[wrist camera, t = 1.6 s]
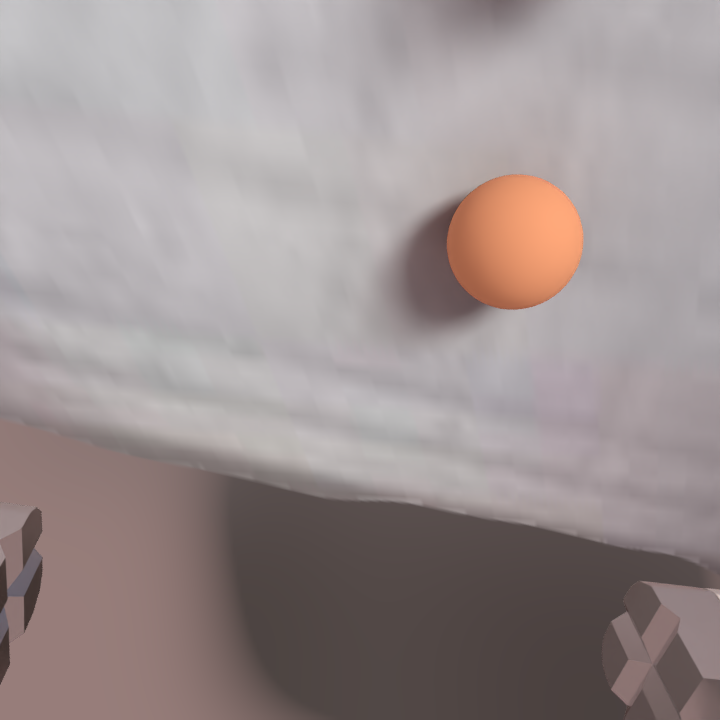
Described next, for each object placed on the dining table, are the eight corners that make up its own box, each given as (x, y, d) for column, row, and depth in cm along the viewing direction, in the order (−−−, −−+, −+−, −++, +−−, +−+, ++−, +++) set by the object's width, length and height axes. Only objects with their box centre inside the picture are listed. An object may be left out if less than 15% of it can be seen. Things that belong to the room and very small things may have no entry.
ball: (573, 164, 29) (617, 199, 25) (548, 282, 32) (584, 335, 27) (447, 157, 29) (467, 190, 24) (432, 276, 32) (448, 328, 27)
